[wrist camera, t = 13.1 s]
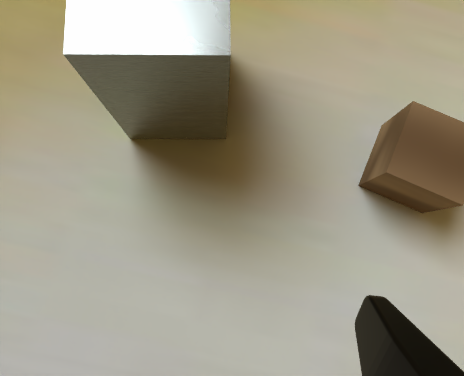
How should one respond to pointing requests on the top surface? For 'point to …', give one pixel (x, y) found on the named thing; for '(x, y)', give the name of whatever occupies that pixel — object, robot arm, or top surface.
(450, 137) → the walnut block
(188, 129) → the grey tin
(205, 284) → the top surface
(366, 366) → the robot arm
